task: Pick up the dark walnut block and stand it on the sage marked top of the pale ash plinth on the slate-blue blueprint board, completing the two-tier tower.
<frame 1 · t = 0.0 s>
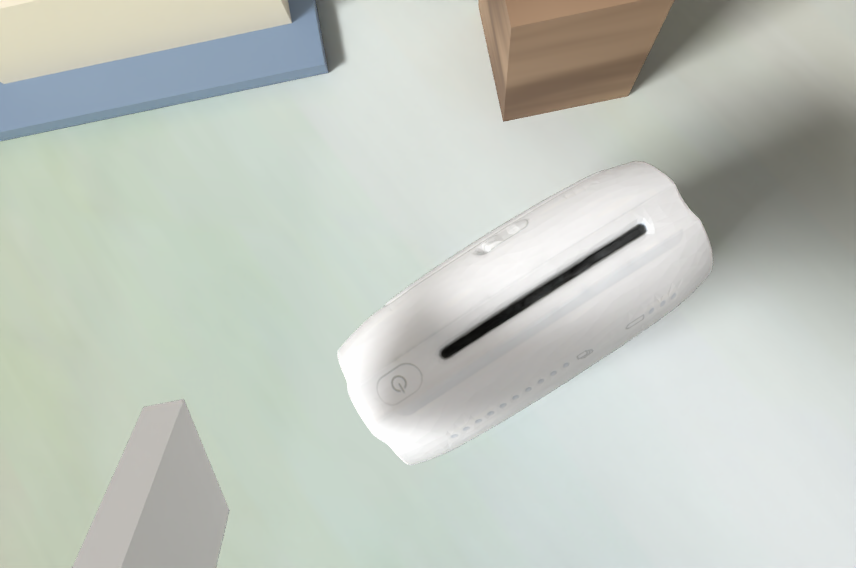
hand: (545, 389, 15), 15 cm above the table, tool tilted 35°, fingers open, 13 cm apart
walnut block: (552, 50, 32), on the table
photo printer: (509, 339, 30), on the table
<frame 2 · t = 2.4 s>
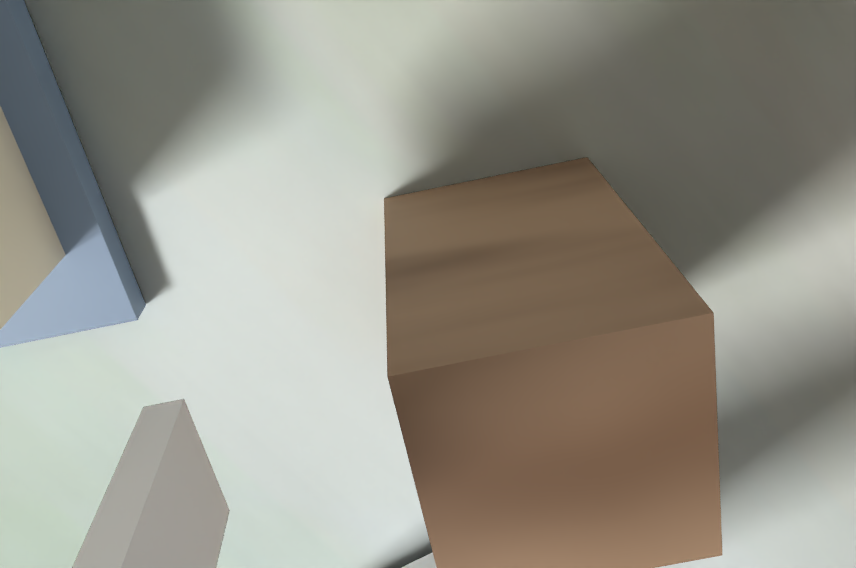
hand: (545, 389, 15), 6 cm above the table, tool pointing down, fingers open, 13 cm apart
walnut block: (500, 269, 20), on the table
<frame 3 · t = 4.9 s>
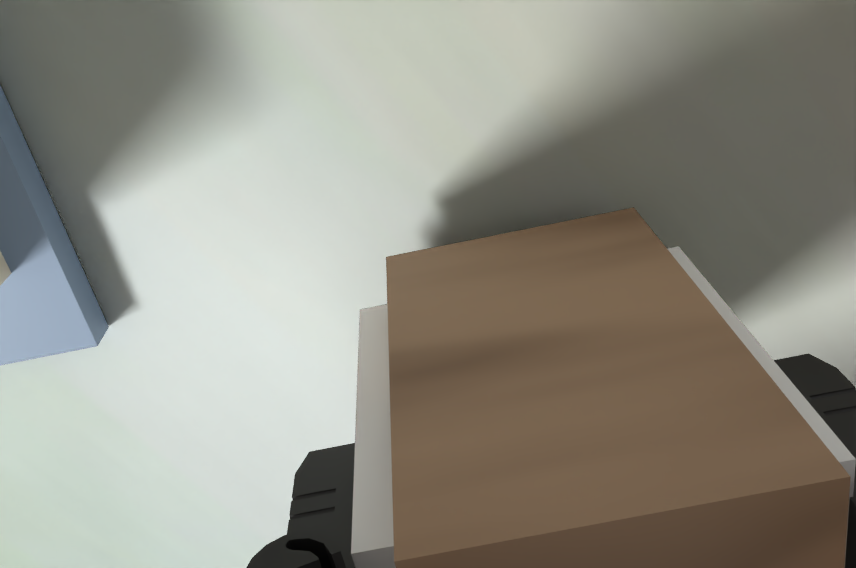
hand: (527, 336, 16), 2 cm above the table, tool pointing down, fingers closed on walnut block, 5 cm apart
walnut block: (526, 338, 17), point 1 cm above the table, touching gripper
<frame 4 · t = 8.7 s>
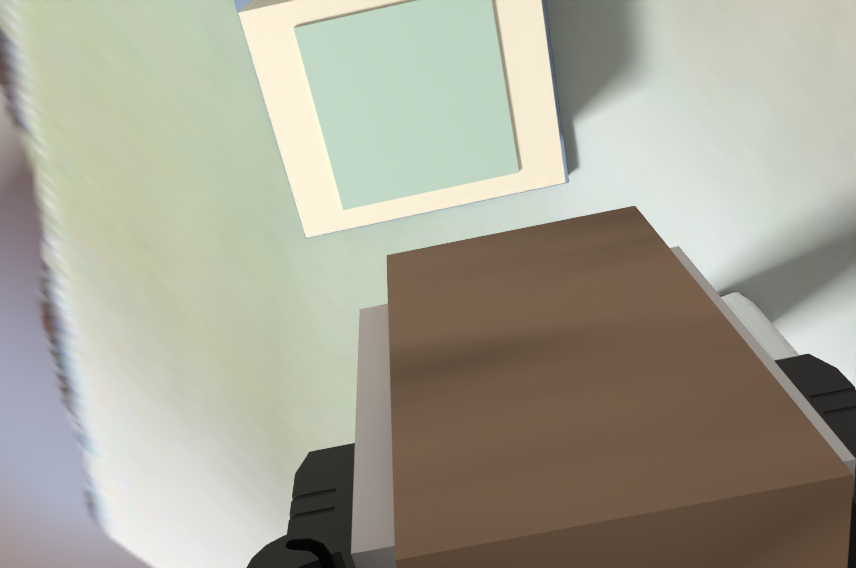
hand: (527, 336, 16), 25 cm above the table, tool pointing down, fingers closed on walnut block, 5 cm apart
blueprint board: (407, 74, 39), on the table
walnut block: (526, 337, 17), point 25 cm above the table, touching gripper
photo printer: (672, 346, 47), on the table
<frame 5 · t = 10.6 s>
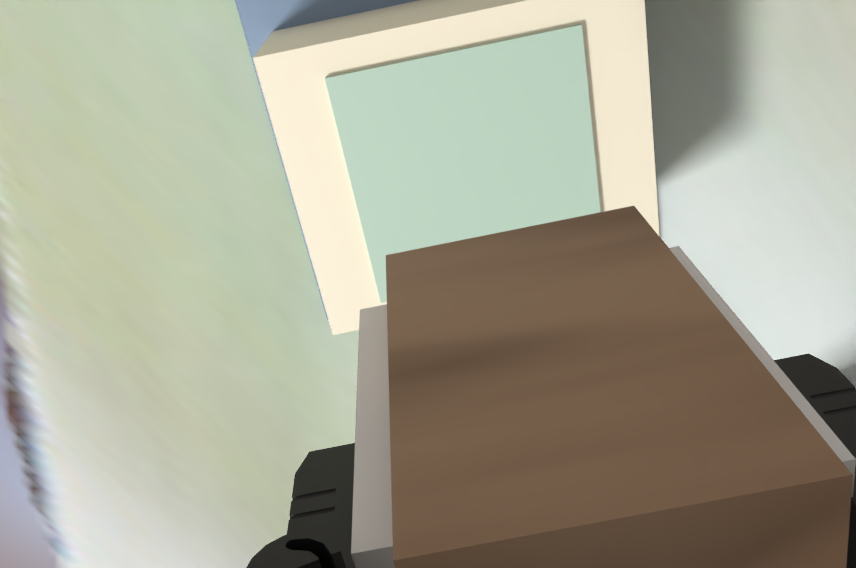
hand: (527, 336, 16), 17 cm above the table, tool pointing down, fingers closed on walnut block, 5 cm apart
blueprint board: (457, 125, 31), on the table
walnut block: (525, 336, 17), point 16 cm above the table, touching gripper
when the fingers open (8 cm above the table, at t = 12.5 s): walnut block drops 1 cm, resting on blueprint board.
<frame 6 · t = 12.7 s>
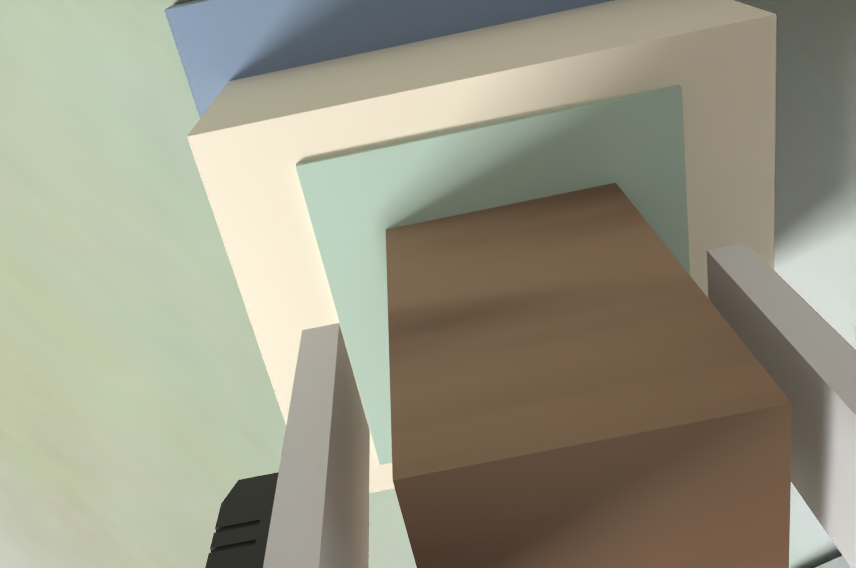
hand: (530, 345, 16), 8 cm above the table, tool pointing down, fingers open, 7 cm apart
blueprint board: (482, 201, 23), on the table
walnut block: (516, 306, 18), point 6 cm above the table, touching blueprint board
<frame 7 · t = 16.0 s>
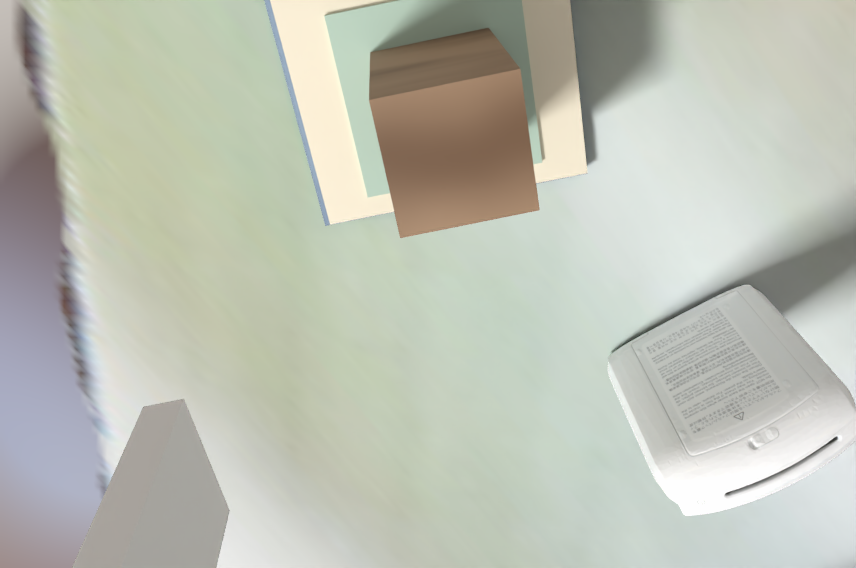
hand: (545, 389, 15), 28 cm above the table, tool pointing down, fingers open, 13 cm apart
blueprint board: (430, 63, 39), on the table
walnut block: (440, 98, 34), point 6 cm above the table, touching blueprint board
photo printer: (683, 337, 48), on the table
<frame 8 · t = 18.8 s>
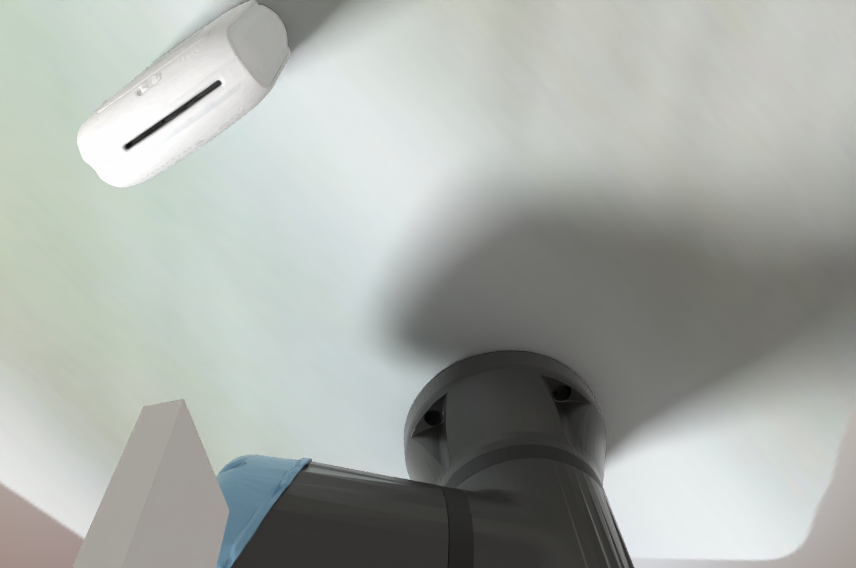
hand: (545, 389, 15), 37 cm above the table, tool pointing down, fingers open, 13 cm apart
photo printer: (212, 66, 47), on the table
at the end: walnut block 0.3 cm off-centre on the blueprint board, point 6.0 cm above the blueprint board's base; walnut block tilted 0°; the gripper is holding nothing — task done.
